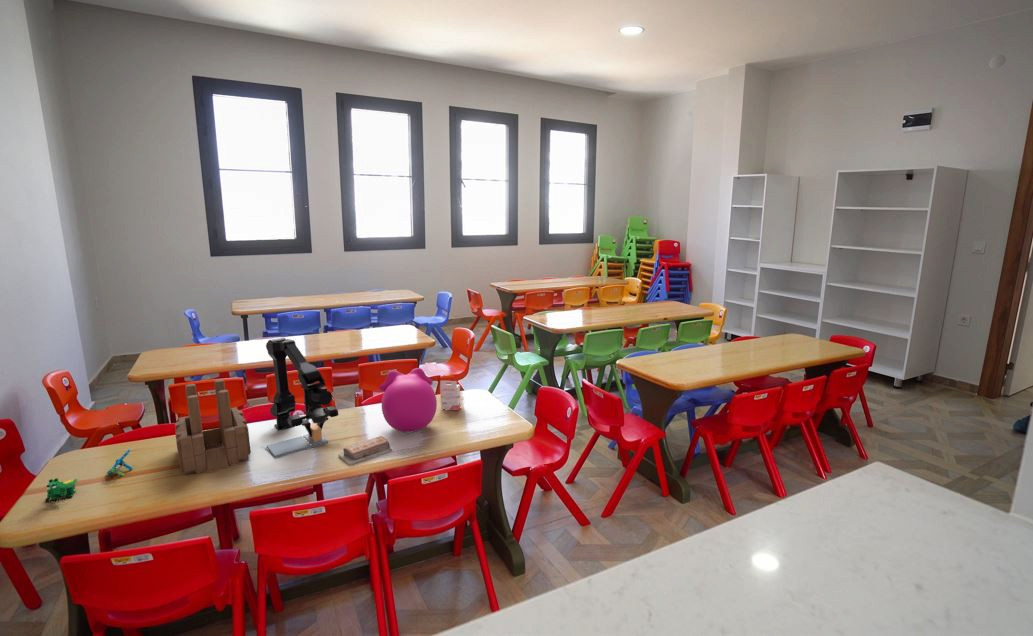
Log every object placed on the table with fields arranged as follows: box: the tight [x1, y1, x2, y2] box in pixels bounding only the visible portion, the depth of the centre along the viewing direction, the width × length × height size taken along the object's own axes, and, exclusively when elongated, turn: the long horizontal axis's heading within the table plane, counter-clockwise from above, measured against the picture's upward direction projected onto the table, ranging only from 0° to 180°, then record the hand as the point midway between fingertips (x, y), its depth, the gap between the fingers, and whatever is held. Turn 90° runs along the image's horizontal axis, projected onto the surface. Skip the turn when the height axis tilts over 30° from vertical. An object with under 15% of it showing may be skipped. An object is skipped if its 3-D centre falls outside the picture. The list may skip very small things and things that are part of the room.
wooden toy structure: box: [174, 378, 252, 476], centre depth 198 cm, size 23×30×27 cm
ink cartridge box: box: [439, 380, 462, 411], centre depth 245 cm, size 9×5×15 cm, turn 80°
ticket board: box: [265, 435, 314, 459], centre depth 206 cm, size 12×14×1 cm
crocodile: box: [45, 477, 78, 504], centre depth 172 cm, size 20×6×9 cm, turn 27°
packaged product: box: [337, 435, 394, 466], centre depth 201 cm, size 18×5×10 cm
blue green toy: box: [106, 449, 133, 477], centre depth 188 cm, size 11×6×10 cm
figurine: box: [378, 367, 438, 433], centre depth 221 cm, size 23×24×25 cm
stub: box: [302, 422, 329, 448], centre depth 212 cm, size 12×6×6 cm, turn 40°
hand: (315, 435), depth 213 cm, fingers closed on stub, 3 cm apart
